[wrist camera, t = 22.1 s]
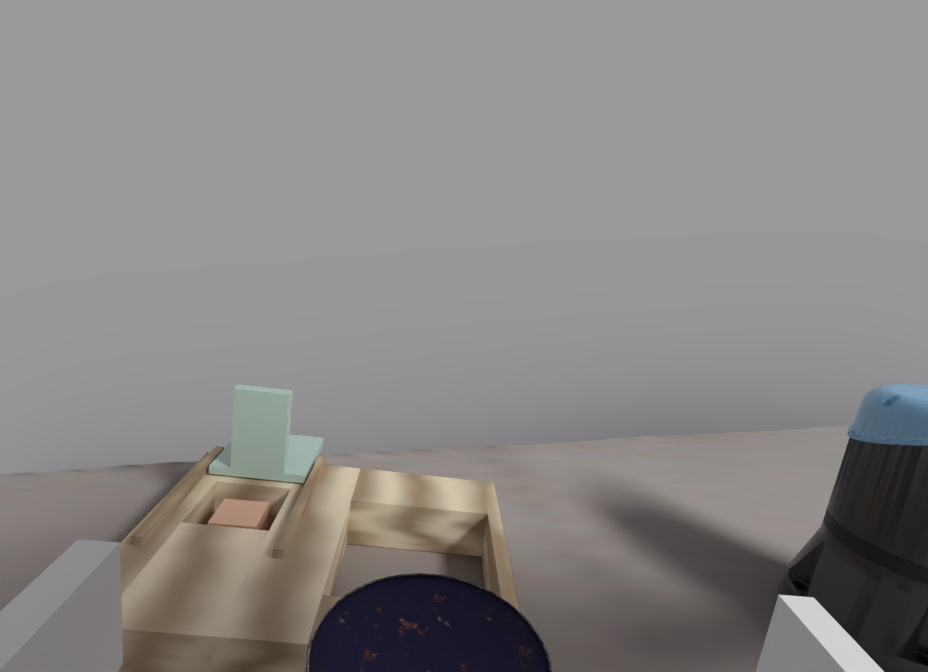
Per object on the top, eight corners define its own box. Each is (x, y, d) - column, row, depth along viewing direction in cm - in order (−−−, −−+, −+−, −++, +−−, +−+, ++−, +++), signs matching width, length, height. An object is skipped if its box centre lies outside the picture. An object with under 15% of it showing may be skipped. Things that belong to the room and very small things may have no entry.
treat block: (266, 540, 51) (269, 502, 50) (253, 568, 47) (256, 526, 46) (222, 537, 51) (224, 498, 50) (205, 564, 47) (207, 522, 46)
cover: (323, 444, 61) (329, 370, 60) (304, 483, 53) (311, 397, 51) (241, 435, 61) (245, 360, 59) (208, 473, 52) (212, 386, 50)
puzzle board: (487, 520, 60) (494, 475, 58) (518, 720, 36) (532, 651, 35) (205, 492, 57) (207, 445, 56) (45, 686, 34) (42, 611, 33)
